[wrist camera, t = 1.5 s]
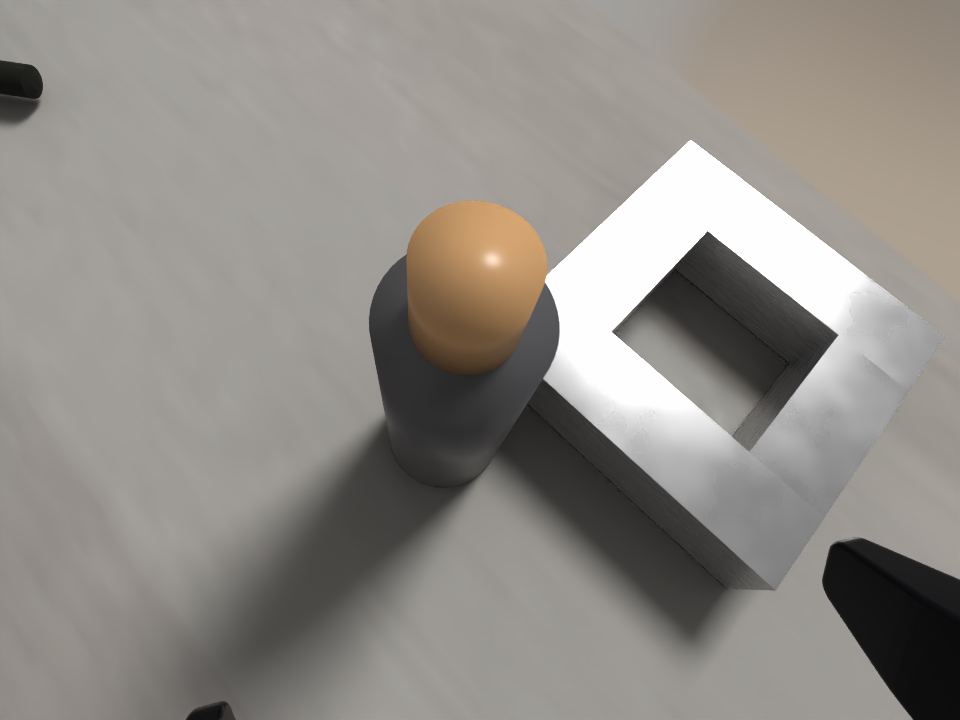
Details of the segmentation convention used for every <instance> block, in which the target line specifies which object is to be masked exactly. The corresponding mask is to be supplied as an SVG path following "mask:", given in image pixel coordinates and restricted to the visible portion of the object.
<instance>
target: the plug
mask: <svg viewBox="0 0 960 720" xmlns="http://www.w3.org/2000/svg"><path fill="white" fill-rule="evenodd" d="M546 275H547V258H546V253H545V249H544V246H543V244H542V242H541V240H540V238H539V236H538V235H537V233H536V232H535V230H534V229H533V228H532V227H531V225H530V224H529V223H527V222H526V221H525V220H524V219H523V218H522V217H520V216H519V215H518V214H516V213H514V212H513V211H511V210H509V209H507V208H505V207H503V206H500V205H497V204H494V203H489V202H483V201H463V202H457V203H453V204H449V205H447V206H444V207H442V208H440V209H438V210H436V211H434V212H433V213H431V214H430V215H428V216H427V217H426V218H425V219H424V220H423V221H422V222H421V223H420V224H419V225H418V227H417V228H416V230H415V231H414V233H413V235H412V237H411V239H410V242H409V245H408V249H407V255H405V256H404V257H402V258H401V259H400V260H398V261H397V262H396V263H395V264H394V265H393V266H392V267H391V268H390V269H389V271H388V272H387V273H386V274H385V276H384V277H383V279H382V280H381V282H380V283H379V285H378V287H377V289H376V292H375V294H374V296H373V300H372V304H371V308H370V316H369V331H370V337H371V343H372V348H373V353H374V358H375V364H376V369H377V374H378V380H379V385H380V390H381V395H382V401H383V406H384V411H385V417H386V422H387V427H388V432H389V438H390V443H391V448H392V451H393V454H394V456H395V458H396V460H397V461H398V463H399V464H400V466H401V467H402V468H403V469H404V471H405V472H407V473H408V474H409V475H410V476H411V477H413V478H414V479H416V480H418V481H420V482H422V483H424V484H427V485H430V486H435V487H453V486H458V485H461V484H464V483H467V482H469V481H471V480H472V479H474V478H475V477H477V476H478V475H479V474H480V473H482V472H483V471H484V470H485V468H486V467H487V466H488V465H489V463H490V462H491V460H492V458H493V457H494V455H495V454H496V452H497V451H498V449H499V447H500V446H501V444H502V443H503V441H504V439H505V438H506V436H507V435H508V433H509V432H510V430H511V428H512V427H513V425H514V424H515V422H516V421H517V419H518V417H519V416H520V414H521V413H522V411H523V409H524V408H525V406H526V405H527V403H528V402H529V400H530V398H531V397H532V395H533V394H534V392H535V390H536V389H537V387H538V386H539V384H540V383H541V381H542V379H543V378H544V376H545V375H546V373H547V371H548V370H549V368H550V367H551V364H552V362H553V360H554V358H555V355H556V352H557V348H558V344H559V336H560V322H559V315H558V310H557V306H556V303H555V300H554V298H553V295H552V293H551V291H550V289H549V287H548V286H547V284H546V283H545V280H546Z"/></svg>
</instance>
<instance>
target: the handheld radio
mask: <svg viewBox="0 0 960 720" xmlns="http://www.w3.org/2000/svg"><path fill="white" fill-rule="evenodd" d="M42 90H43V82H42V78H41V75H40V73H39V72H38V70H37V69H36V68H35V67H34V66H32V65H28V64H21V63H15V62H8V61H1V60H0V94H4V95H11V96H18V97H24V98H31V99H37V98H39V97H40V96H41V94H42Z"/></svg>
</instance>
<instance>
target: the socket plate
mask: <svg viewBox="0 0 960 720" xmlns="http://www.w3.org/2000/svg"><path fill="white" fill-rule="evenodd" d="M675 269H676V270H677V271H678V272H679V273H680V274H682V275H683V276H684V277H685V278H687V279H688V280H689V281H690V282H691V283H693V284H694V285H695V286H696V287H697V288H699V289H700V290H701V291H702V292H703V293H705V294H706V295H707V296H708V297H710V298H711V299H712V300H713V301H714V302H716V303H717V304H718V305H719V306H720V307H722V308H723V309H724V310H725V311H727V312H728V313H729V314H730V315H731V316H733V317H734V318H735V319H736V320H737V321H739V322H740V323H741V324H742V325H744V326H745V327H746V328H747V329H748V330H750V331H751V332H752V333H753V334H754V335H756V336H757V337H758V338H759V339H761V340H762V341H763V342H764V343H765V344H767V345H768V346H769V347H770V348H771V349H773V350H774V351H775V352H776V353H778V354H779V355H780V356H781V357H782V358H784V359H785V360H786V361H787V362H788V363H789V365H788V366H787V367H786V368H785V370H784V371H783V372H782V374H781V375H780V376H779V377H778V379H777V380H776V381H775V383H774V384H773V385H772V386H771V388H770V389H769V390H768V391H767V393H766V394H765V395H764V397H763V398H762V399H761V400H760V402H759V403H758V404H757V405H756V407H755V408H754V409H753V411H752V412H751V413H750V414H749V416H748V417H747V418H746V420H745V421H744V422H743V423H742V425H741V426H740V427H739V428H738V430H737V431H736V432H735V434H734V435H733V436H730V435H729V434H728V433H727V432H726V431H725V430H723V429H722V428H721V427H720V426H719V425H718V424H717V423H715V422H714V421H713V420H712V419H711V418H710V417H708V416H707V415H706V414H705V413H704V412H703V411H702V410H700V409H699V408H698V407H697V406H696V405H695V404H694V403H692V402H691V401H690V400H689V399H688V398H687V397H685V396H684V395H683V394H682V393H681V392H680V391H679V390H677V389H676V388H675V387H674V386H673V385H672V384H671V383H669V382H668V381H667V380H666V379H665V378H664V377H662V376H661V375H660V374H659V373H658V372H657V371H656V370H654V369H653V368H652V367H651V366H650V365H649V364H647V363H646V362H645V361H644V360H643V359H642V358H641V357H639V356H638V355H637V354H636V353H635V352H634V351H633V350H631V349H630V348H629V347H628V346H627V345H626V344H624V343H623V342H622V341H621V340H620V339H619V338H618V337H616V336H615V335H614V333H615V332H616V331H617V330H618V329H619V328H620V327H621V326H622V325H623V324H624V323H625V322H626V321H627V319H628V318H629V317H630V316H631V315H632V314H633V313H634V312H635V311H636V310H637V309H638V308H639V307H640V306H641V305H642V304H643V303H644V302H645V301H646V299H647V298H648V297H649V296H650V295H651V294H652V293H653V292H654V291H655V290H656V289H657V288H658V287H659V286H660V285H661V284H662V283H663V282H664V281H665V280H666V278H667V277H668V276H669V275H670V274H671V273H672V272H673V271H674V270H675ZM545 283H546V284H547V286H548V287H549V289H550V291H551V293H552V295H553V298H554V300H555V303H556V306H557V310H558V315H559V322H560V336H559V344H558V348H557V352H556V355H555V358H554V360H553V362H552V364H551V367H550V368H549V370H548V371H547V373H546V375H545V376H544V378H543V379H542V381H541V383H540V384H539V386H538V387H537V389H536V390H535V392H534V394H533V395H532V397H531V398H530V400H529V402H528V403H527V404H528V405H529V406H530V407H531V408H532V409H533V410H535V411H536V412H537V413H538V414H539V415H540V416H541V417H542V418H543V419H544V420H545V421H546V422H547V423H549V424H550V425H551V426H552V427H553V428H554V429H555V430H556V431H557V432H558V433H559V434H560V435H561V436H563V437H564V438H565V439H566V440H567V441H568V442H569V443H570V444H571V445H572V446H573V447H574V448H576V449H577V450H578V451H579V452H580V453H581V454H582V455H583V456H584V457H585V458H586V459H587V460H588V461H590V462H591V463H592V464H593V465H594V466H595V467H596V468H597V469H598V470H599V471H600V472H601V473H603V474H604V475H605V476H606V477H607V478H608V479H609V480H610V481H611V482H612V483H613V484H614V485H615V486H617V487H618V488H619V489H620V490H621V491H622V492H623V493H624V494H625V495H626V496H627V497H628V498H629V499H631V500H632V501H633V502H634V503H635V504H636V505H637V506H638V507H639V508H640V509H641V510H642V511H644V512H645V513H646V514H647V515H648V516H649V517H650V518H651V519H652V520H653V521H654V522H655V523H656V524H658V525H659V526H660V527H661V528H662V529H663V530H664V531H665V532H666V533H667V534H668V535H669V536H671V537H672V538H673V539H674V540H675V541H676V542H677V543H678V544H679V545H680V546H681V547H682V548H683V549H685V550H686V551H687V552H688V553H689V554H690V555H691V556H692V557H693V558H694V559H695V560H696V561H697V562H699V563H700V564H701V565H702V566H703V567H704V568H705V569H706V570H707V571H708V572H709V573H710V574H712V575H713V576H714V577H715V578H716V579H717V580H718V581H719V582H720V583H721V584H722V585H723V586H724V587H726V588H727V589H749V590H776V589H777V587H778V586H779V584H780V583H781V581H782V580H783V578H784V577H785V575H786V574H787V572H788V571H789V569H790V568H791V567H792V565H793V564H794V562H795V561H796V559H797V558H798V556H799V555H800V553H801V552H802V550H803V549H804V547H805V546H806V544H807V543H808V541H809V540H810V538H811V537H812V535H813V534H814V532H815V531H816V529H817V528H818V526H819V525H820V523H821V522H822V520H823V519H824V517H825V516H826V514H827V513H828V511H829V510H830V508H831V507H832V505H833V504H834V502H835V501H836V499H837V498H838V496H839V495H840V493H841V492H842V490H843V489H844V487H845V486H846V484H847V483H848V481H849V480H850V478H851V477H852V475H853V474H854V472H855V471H856V469H857V468H858V467H859V465H860V464H861V462H862V461H863V459H864V458H865V456H866V455H867V453H868V452H869V450H870V449H871V447H872V446H873V444H874V443H875V441H876V440H877V438H878V437H879V435H880V434H881V432H882V431H883V429H884V428H885V426H886V425H887V423H888V422H889V420H890V419H891V417H892V416H893V414H894V413H895V411H896V410H897V408H898V407H899V405H900V404H901V402H902V401H903V399H904V398H905V396H906V395H907V393H908V392H909V390H910V389H911V387H912V386H913V384H914V383H915V381H916V380H917V378H918V377H919V375H920V374H921V372H922V371H923V369H924V368H925V367H926V365H927V364H928V362H929V361H930V359H931V358H932V356H933V355H934V353H935V352H936V350H937V349H938V347H939V346H940V344H941V343H942V341H943V340H944V338H945V336H944V335H943V334H942V333H940V332H939V331H938V330H936V329H935V328H934V327H933V326H931V325H930V324H929V323H927V322H926V321H925V320H923V319H922V318H921V317H920V316H918V315H917V314H916V313H914V312H913V311H912V310H910V309H909V308H908V307H907V306H905V305H904V304H903V303H901V302H900V301H899V300H897V299H896V298H895V297H894V296H892V295H891V294H890V293H888V292H887V291H886V290H885V289H883V288H882V287H881V286H879V285H878V284H877V283H875V282H874V281H873V280H872V279H870V278H869V277H868V276H866V275H865V274H864V273H862V272H861V271H860V270H859V269H857V268H856V267H855V266H853V265H852V264H851V263H849V262H848V261H847V260H846V259H844V258H843V257H842V256H840V255H839V254H838V253H837V252H835V251H834V250H833V249H831V248H830V247H829V246H827V245H826V244H825V243H824V242H822V241H821V240H820V239H818V238H817V237H816V236H814V235H813V234H812V233H811V232H809V231H808V230H807V229H805V228H804V227H803V226H801V225H800V224H799V223H798V222H796V221H795V220H794V219H792V218H791V217H790V216H789V215H787V214H786V213H785V212H783V211H782V210H781V209H779V208H778V207H777V206H776V205H774V204H773V203H772V202H770V201H769V200H768V199H766V198H765V197H764V196H763V195H761V194H760V193H759V192H757V191H756V190H755V189H753V188H752V187H751V186H750V185H748V184H747V183H746V182H744V181H743V180H742V179H740V178H739V177H738V176H737V175H735V174H734V173H733V172H731V171H730V170H729V169H728V168H726V167H725V166H724V165H722V164H721V163H720V162H718V161H717V160H716V159H715V158H713V157H712V156H711V155H709V154H708V153H707V152H705V151H704V150H703V149H702V148H700V147H699V146H698V145H696V144H695V143H694V142H692V141H691V140H690V141H689V142H688V143H687V144H686V145H685V146H684V147H683V148H682V149H681V150H680V151H679V152H678V153H677V154H676V155H674V156H673V157H672V158H671V159H670V160H669V161H668V162H667V163H666V164H665V165H664V166H663V167H662V168H661V169H660V170H659V171H657V172H656V173H655V174H654V175H653V176H652V177H651V178H650V179H649V180H648V181H647V182H646V183H645V184H644V185H643V186H642V187H641V188H639V189H638V190H637V191H636V192H635V193H634V194H633V195H632V196H631V197H630V198H629V199H628V200H627V201H626V202H625V203H624V204H622V205H621V206H620V207H619V208H618V209H617V210H616V211H615V212H614V213H613V214H612V215H611V216H610V217H609V218H608V219H607V220H606V221H604V222H603V223H602V224H601V225H600V226H599V227H598V228H597V229H596V230H595V231H594V232H593V233H592V234H591V235H590V236H589V237H587V238H586V239H585V240H584V241H583V242H582V243H581V244H580V245H579V246H578V247H577V248H576V249H575V250H574V251H573V252H572V253H571V254H569V255H568V256H567V257H566V258H565V259H564V260H563V261H562V262H561V263H560V264H559V265H558V266H557V267H556V268H555V269H554V270H552V271H551V272H550V273H549V274H548V275H547V276H546V280H545Z"/></svg>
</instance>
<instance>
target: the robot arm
mask: <svg viewBox="0 0 960 720" xmlns="http://www.w3.org/2000/svg"><path fill="white" fill-rule="evenodd" d="M822 583H823V588H824V591H825V593H826V595H827V597H828V599H829V600H830V602H831V603H832V605H833V606H834V608H835V609H836V611H837V612H838V614H839V615H840V617H841V618H842V620H843V621H844V623H845V624H846V626H847V627H848V629H849V630H850V632H851V633H852V635H853V636H854V638H855V639H856V641H857V642H858V644H859V645H860V647H861V648H862V650H863V651H864V653H865V654H866V656H867V657H868V659H869V660H870V661H871V663H872V664H873V666H874V667H875V669H876V670H877V672H878V673H879V675H880V676H881V678H882V679H883V681H884V682H885V683H886V685H887V686H888V688H889V689H890V691H891V692H892V693H893V694H894V696H895V697H896V698H897V700H898V701H899V702H900V704H901V705H902V706H903V708H904V709H905V710H906V711H907V713H908V714H909V715H910V716H911V718H912V719H913V720H960V580H959V579H957V578H955V577H952V576H950V575H948V574H945V573H943V572H941V571H938V570H936V569H934V568H931V567H929V566H927V565H924V564H922V563H920V562H917V561H915V560H913V559H910V558H908V557H906V556H903V555H901V554H899V553H896V552H894V551H892V550H889V549H887V548H885V547H882V546H880V545H878V544H875V543H873V542H871V541H868V540H866V539H863V538H860V537H852V538H848V539H844V540H840V541H837V542H834V543H833V544H832V545H831V546H830V549H829V553H828V557H827V561H826V565H825V570H824V574H823V578H822ZM186 720H236V719H235V717H234V714H233V712H232V709H231V707H230V706H229V704H228V703H227V702H224V701H222V702H217V703H213V704H210V705H206V706H202V707H199V708H196V709H195V710H193V711H192V712H191V713H190V714H189V715H188V717H187V718H186Z"/></svg>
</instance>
